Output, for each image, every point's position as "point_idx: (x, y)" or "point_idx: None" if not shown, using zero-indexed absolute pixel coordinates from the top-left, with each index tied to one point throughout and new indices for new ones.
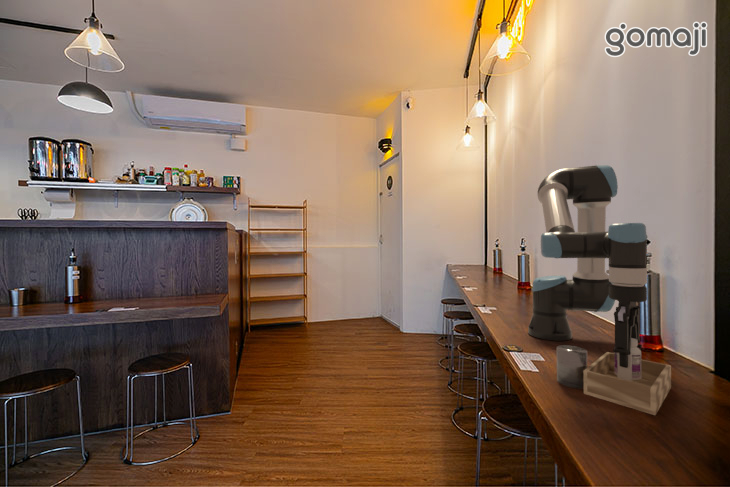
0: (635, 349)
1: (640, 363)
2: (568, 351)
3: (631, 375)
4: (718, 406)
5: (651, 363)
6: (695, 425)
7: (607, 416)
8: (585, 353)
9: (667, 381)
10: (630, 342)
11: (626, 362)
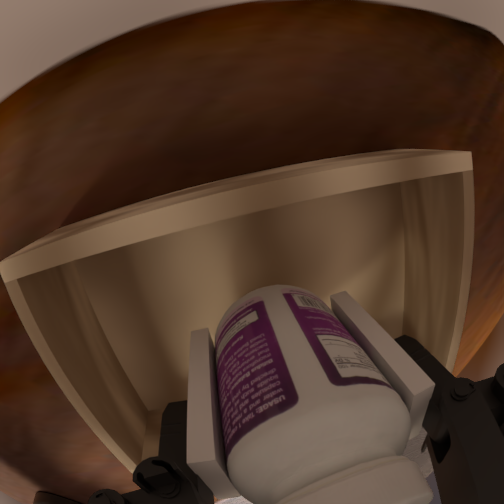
0: (377, 435)
1: (305, 338)
2: (427, 469)
3: (352, 306)
4: (95, 56)
5: (50, 340)
6: (358, 51)
7: (478, 229)
8: (417, 457)
9: (118, 213)
10: (482, 461)
11: (429, 352)
